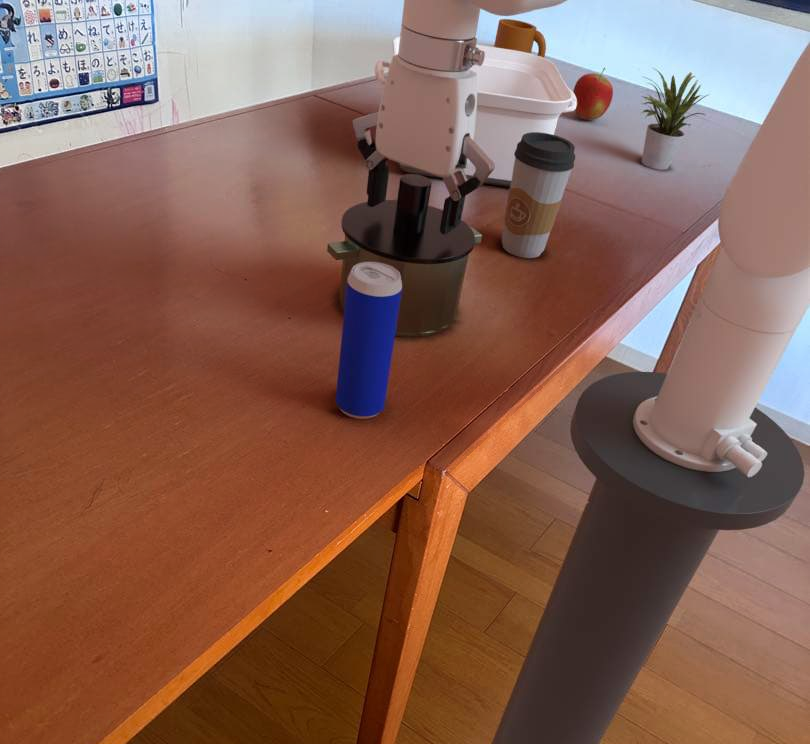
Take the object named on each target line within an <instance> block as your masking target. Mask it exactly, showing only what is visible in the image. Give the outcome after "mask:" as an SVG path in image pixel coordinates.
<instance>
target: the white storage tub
mask: <svg viewBox="0 0 810 744" xmlns="http://www.w3.org/2000/svg"><path fill="white" fill-rule="evenodd" d="M391 41H392V42H391V43H392V51H393V56H395V55H397V54H398V51H399V42H400V35H399V36H395V37H394V38H393V39H392V40H391ZM476 47H477V48H478V49H479V50H481V51H484V52H485V58H484V61H483V64H482V65H481V66H478V65H472V67H471V68H470V70H471V71H473V72H476V73H477V110H476V122H475V132H474V140H473V141H474V142H475V143H476V144H477V145H478V146H479V147H480V148H481V149H482V151H483V152H484V153H485V154H486V155H487V156H488V157H489V158H490V159H491V160H492V161H493V162H494V164H495V168H494V170H493V171H492V173H491V174H490V175H489V176H488V178H487V179H486V180H485V181H484V183H483V184H487V185H494V186H500V187H501V186H502V187H509V188H510V186H511V180H512V174H513V168H514V162H515V155H514V153H515V151H516V149H517V144H518V143H519V142H520V141H521V139H522V136H523V135H524V134H526V133H531V132H540V133H547V134H552V135H555V132H556V128H557V124H558V122H559V117H560V116H561V114H562V113H571V112H575V109H576V106H577V99H576V96H575V94H574V93H573V91H574V90H572V89H570V88H569V87H568V85H567V83H566V81H565V80H564V78H563V76H562V75H561V72H560V71H559V69H558V68H557V65H556V64H555V63H553V61H551V60H549V59H548V58H545V57H544V58H543V57H540V56H537V55H538V54H534V53H532V52H531V53H526V52H521V51H516V50H509V49H503V48H496V47H494V46H488V45H482V44H478V43H476ZM390 64H391V62H390V63H389V62H387V61H386V60H382V59H379V60H377V61H376V64H375V67H374V75H375V79H377V81H379V82H380V83H381V84H382V85H385V81H386V77H385V76H384V70H385V69H384V68H388V69H389V67H390ZM398 165H399V168H400V169H401V170H402V171H403V172H405V173H406V174H416V175H421V176H424V177H434V178H442V177H438V176H435V175H432V174H429V173H426V172H423V171H420V170H417V169H414V168H412V167H409V166H406V165H403V164H400V163H398ZM463 170H464V172H465V175H466V177H467V179H468V180H469V179H471V177H472V176H473V175H474V173H475V171H476V168H475V166H474V165H473V163H472V162H471V161H470V162H469V165H468V166H467V167H466V168H464V169H463ZM442 179H443V178H442Z"/></svg>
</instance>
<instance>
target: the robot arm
mask: <svg viewBox="0 0 810 744" xmlns="http://www.w3.org/2000/svg"><path fill="white" fill-rule="evenodd" d="M567 1H568V0H403V9H402V17H401V27H400V35H399V36H400V42H399V51H398V54H397V55H395V56H394V55H393V56H392V59H391V61H390V67H389V68H388V70H387V73H386V77H385V79H386V81H385V85H384V84H383V85H384V86H383V88H382V92H381V93H382V94H381V99H380V104H379V108H378V111H376V112H373V113H370V114H366V115H364V116H360V117H358V118H355V119H353V121H352V127H353V131H354V134H355V138H356V140H357V148H358V150H359V152H360V154H361V155H362V158H363V159H364V166H365V169H366V170H368V175H367V184H366V195H367V201H366V202H367V205H368V206H370V207H374V206H376V205H378V204H380V203H382V202H384V201H385V200H387V191H388V183H389V177H390V168H389V166H390V165H387V162H388V161H392V162H395V163H398V164H399V163H400V164H403V165H406V166H409V167H412V168H414V169H417V170H420V171H423V172H426V173H429V174H432V175H435V176H438V177H437V178H440V177H442V180H443V183H444V184H445V187H446V190H447V192H448V194H449V196H448V197H446V198H444V202H443V208H442V210H443V213H442V219H441V225H440V232H441V233H442V234H444V235H446V234H447V233H449V232H450V231H452V230H453V229H455V228H456V227H457V226H458V225H459V224H460V222H461V220H462V218H463V213H464V212H463V211H464V206H465V200H466V196H467V195H469V194H471V193H473V192H474V191H476V190H477V189H479V188H480V187H482V186H483V185H484V184H485V183H484V181H485V180H486V179H487V178H488V176H489V175H490V174H491V173H492V171H493V170H494V168H495V164H494V162H493V161H492V160H491V159H490V158H489V157H488V156H487V155H486V154H485V153H484V152H483V151H482V149H481V148H480V147H479V146H478V145H477V144H476V143H475V142H474V141H473V140H474V132H475V122H476V110H477V73H476V72H473V71H471V70H470V68H471V67H472V65H478V66H481V65H482V64H483V61H484V58H485V52H484V51H481V50H479V49H478V48H477V47H476V44H477V41H478V38H476V36H477V31H478V25H479V20H480V13H481V10H483V11H485V12H486V13H487V12H488V13H490V14H491V15H495V16H499V17H500V16H501V17H511V16H517V15H522V14H526V13H531V12H533V11H537V10H542V9H547V8H552V7H556V6H559V5H561V4H563V3H565V2H567ZM373 127H376V130H375V140H374V138H373V137H372V136H371V128H373ZM749 145H750V146H749V147H748V149H747V150H746V153H745V155H744V156H743V158H742V160H741V162H740V163H739V165H738V167H737V169H736V171H735V173H734V174H733V176H732V178H731V180H730V182H729V184H728V186H727V188H726V189H725V192H724V194H723V197H722V199H721V203H720V207H719V211H718V218H717V229H718V230H717V231H718V237H719V241H720V244H721V248H720V250H719V252H718V255H717V257H716V259H715V261H714V263H713V265H712V268H711V270H710V272H709V276H708V277H707V279H706V281H705V284H704V287H703V289H702V291H701V293H700V295H699V298H698V300H697V303H696V305H695V306H694V310H693V312H692V314H691V317H690V319H689V321H688V323H687V326H686V328H685V331H684V333H683V335H682V338H681V340H680V342H679V344H678V347H677V349H676V352H675V353H674V357H673V359H672V362H671V364H670V366H669V367H668V368H669V369H668V371H667V373H666V374H667V375H666V378H665V380H664V382H663V385H662V387H661V390H660V392H659V394H658V396H657V397H653V398H650V399H647V400H645V401H644V402H642V403H641V404H640V405H639V406H638V408H637V410H636V412H635V414H634V418H633V427H634V429H635V432H636V434H637V435H638V437H639V438H640V440H641V441H642V442H643V443H644V444H645V445H646V446H647V447H648V448H649V449H650V450H652V451H653V452H654V453H656V454H657V455H659V456H661V457H662V458H664V459H666V460H668V461H670V462H672V463H674V464H676V465H679V466H682V467H685V468H689V469H693V470H697V471H705V472H721V471H727V470H731V469H733V468H738V469H739V470H740V471H741V472H743V473H744V474H745V475H746V476H747V477H752V476H753V475H755V474H756V473H757V472H758V471H759V470H760V468H761V466H762V462H761V461H763V460H764V459H765V457H766V456H767V452H766V451H765V450H764V449H762V448H761V447H760V446H758V445H756V444H755V443H754V442H752V438H751V437H750V436H751V434H752V432H753V430H754V429H755V427H756V425H757V424H756V423H755V422H753V421H752V420H751V419H750V416H751V414H752V412H753V410H754V408H755V407H756V406H757V404H758V402H759V401H760V399H761V397H762V395H763V393H764V391H765V389H766V388H767V386H768V384H769V382H770V380H771V378H772V376H773V374H774V372H775V371H776V369H777V367H778V364H779V363H780V361H781V359H782V357H783V355H784V353H785V352H786V350H787V348H788V347H789V344H790V342H791V340H792V338H793V336H794V334H795V332H796V330H797V329H798V327H799V326H800V324H801V322H802V320H803V318H804V316H805V314H806V312H807V310H808V309H809V307H810V41H809V42H808V44H807V45H806V46H805V48H804V49H803V51H802V53H801V54H800V55H799V57H798V59H797V60H796V62H795V64H794V65H793V68H792V69H791V70H790V73H789V75H788V76H787V78H786V80H785V81H784V84H783V85H782V88H781V89H780V91H779V93H778V95H777V97H776V98H775V100H774V102H773V104H772V105H771V107H770V108H769V111H768V113H767V115H766V116H765V118H764V120H763V122H762V124H761V125H760V127H759V129H758V131H757V133H756V135H755V136H754V138H753V140H752V142H751V143H750V144H749ZM470 161H471V162H472V163H473V165H474V166H475V168H476V171H475V173H474V175H473V176H472V177H471V179H469V180H468V179H467V177H466V175H465V172H464V170H463V169H464V168H466V167H467V166H468V165H469V162H470Z"/></svg>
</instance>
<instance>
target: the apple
mask: <svg viewBox="0 0 810 744" xmlns="http://www.w3.org/2000/svg"><path fill="white" fill-rule="evenodd" d="M605 69H606V67H603V69H602V72H601V73H600V74H599V73H585V74H583V75H582V76H581V77H579V78H578V79H577V81H576V82H575V85H574V88H573V90H572V91H573V93H574V94H575V96H576V99H577V106H576V109H575V110H574V113H575V114H576V116H577V117H578V118H580V119H582V120H587V121H594V120H598V119H600V118H601V117H602V116H604V115H605V114H606V113H607V111H608V110H609V107H610V106H611V103H612V100H613V96H614V89H613V85H612V83H611V82H610V80H609V79H607V78H606V76H603V73H604V71H605Z"/></svg>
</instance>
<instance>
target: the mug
mask: <svg viewBox="0 0 810 744" xmlns="http://www.w3.org/2000/svg"><path fill="white" fill-rule="evenodd" d="M534 42H535V43H537V47H538V48H537V49H538V51H537V54H536V55H537V56H540V57H543V58H545V56H546V53H547V43H546V39H545V36H544V34H542V32H541V31H539V30H537V26H536V25H534V24H531V23H529V22H526V21H522V20H517V19H513V18H512V19H511V18H502V19H499V20H498V24H497V30H496V35H495V40H494V44H493V47H496V48H503V49H509V50H516V51H521V52H526V53H531V54H532V50H533V46H534Z"/></svg>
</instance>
